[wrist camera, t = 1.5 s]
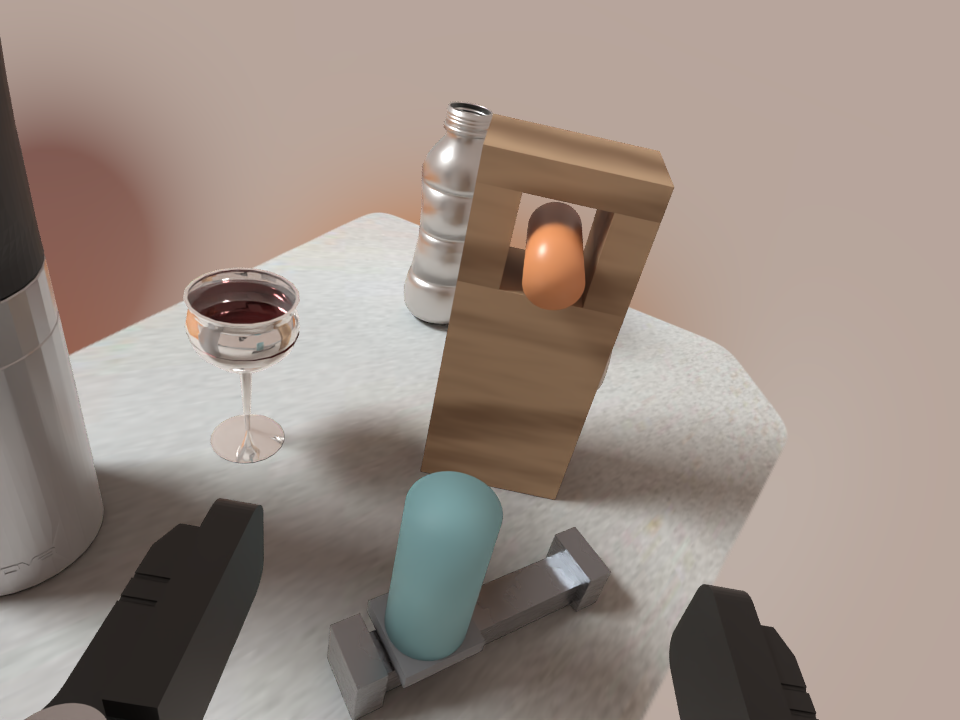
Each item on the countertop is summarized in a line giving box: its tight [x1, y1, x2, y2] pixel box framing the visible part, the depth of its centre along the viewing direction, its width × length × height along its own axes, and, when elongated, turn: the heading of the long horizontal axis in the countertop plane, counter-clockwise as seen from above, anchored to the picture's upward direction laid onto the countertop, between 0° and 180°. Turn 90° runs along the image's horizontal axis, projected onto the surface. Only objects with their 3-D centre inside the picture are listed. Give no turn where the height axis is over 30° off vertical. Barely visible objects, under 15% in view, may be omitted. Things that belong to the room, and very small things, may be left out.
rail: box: [327, 527, 611, 720], centre depth 36 cm, size 4×16×3 cm, turn 121°
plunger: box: [522, 202, 585, 310], centre depth 36 cm, size 7×3×3 cm, turn 174°
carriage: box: [367, 471, 503, 688], centre depth 31 cm, size 5×5×10 cm
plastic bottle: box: [404, 101, 493, 324], centre depth 58 cm, size 6×7×20 cm
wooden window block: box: [421, 114, 674, 500], centre depth 42 cm, size 6×10×24 cm, turn 84°
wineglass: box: [183, 268, 300, 463], centre depth 42 cm, size 7×7×12 cm
